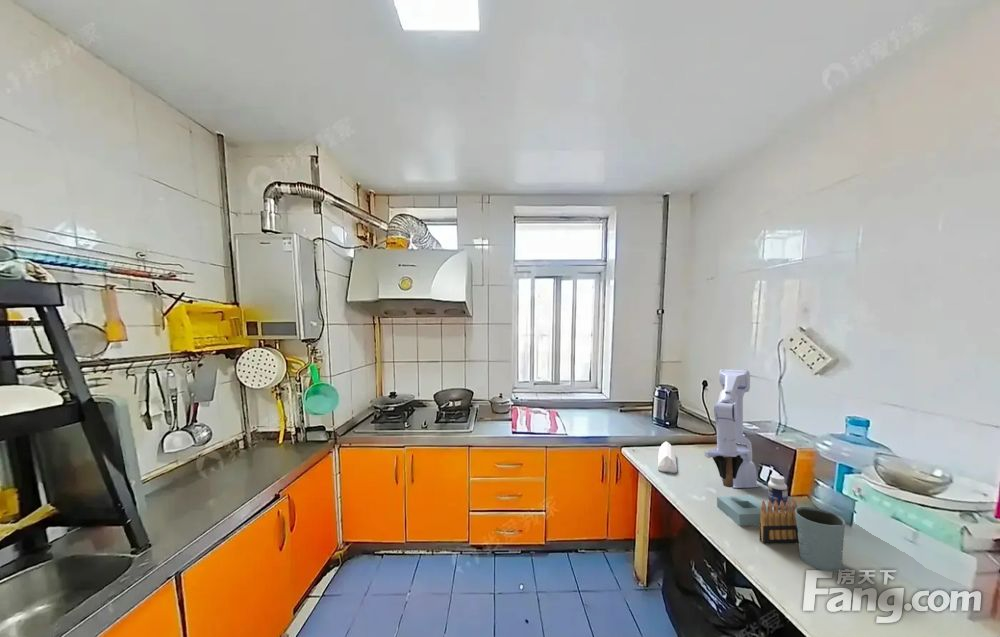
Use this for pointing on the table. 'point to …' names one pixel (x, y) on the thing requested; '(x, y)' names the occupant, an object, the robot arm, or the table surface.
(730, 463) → the walnut peg
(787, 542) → the ammunition clip
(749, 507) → the socket block
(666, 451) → the crystal
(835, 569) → the grey plant pot
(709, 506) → the table surface
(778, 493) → the pill bottle
